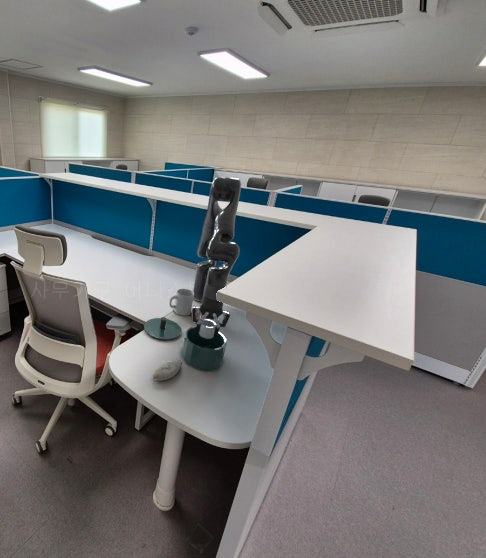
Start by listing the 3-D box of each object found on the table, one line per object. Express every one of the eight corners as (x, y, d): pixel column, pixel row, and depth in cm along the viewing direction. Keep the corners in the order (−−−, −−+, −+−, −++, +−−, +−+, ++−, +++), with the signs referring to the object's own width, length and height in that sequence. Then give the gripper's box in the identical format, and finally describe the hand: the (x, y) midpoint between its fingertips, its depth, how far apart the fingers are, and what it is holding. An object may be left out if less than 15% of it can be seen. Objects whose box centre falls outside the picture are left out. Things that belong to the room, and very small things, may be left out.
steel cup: (198, 329, 120) (200, 318, 118) (213, 331, 119) (216, 321, 117) (198, 336, 115) (200, 325, 113) (213, 339, 114) (216, 328, 112)
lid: (147, 317, 147) (148, 306, 145) (182, 323, 143) (184, 312, 141) (140, 336, 133) (141, 324, 130) (179, 344, 129) (181, 332, 126)
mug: (186, 306, 158) (189, 288, 154) (193, 315, 151) (197, 295, 146) (165, 308, 156) (167, 289, 151) (171, 317, 148) (174, 297, 144)
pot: (183, 341, 130) (186, 323, 126) (221, 349, 126) (225, 330, 122) (180, 365, 116) (183, 345, 113) (222, 374, 113) (227, 353, 109)
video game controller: (203, 316, 153) (199, 303, 152) (211, 316, 149) (208, 303, 149) (194, 324, 146) (190, 311, 145) (203, 324, 142) (199, 310, 142)
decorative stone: (186, 368, 115) (187, 361, 114) (160, 387, 105) (161, 380, 104) (173, 360, 119) (174, 353, 118) (147, 378, 109) (148, 370, 108)
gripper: (234, 293, 111) (225, 331, 118) (194, 286, 115) (188, 324, 122) (235, 302, 105) (226, 342, 112) (193, 295, 108) (186, 334, 115)
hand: (206, 332), depth 117 cm, fingers closed on steel cup, 5 cm apart
